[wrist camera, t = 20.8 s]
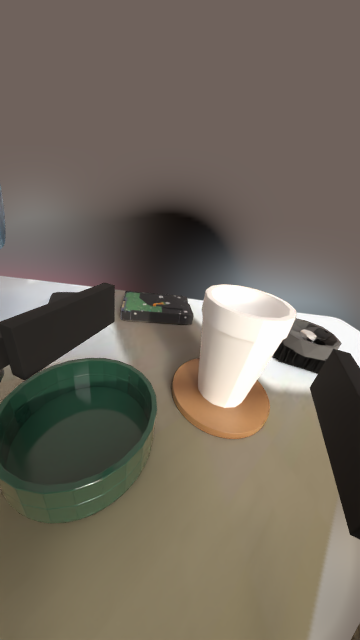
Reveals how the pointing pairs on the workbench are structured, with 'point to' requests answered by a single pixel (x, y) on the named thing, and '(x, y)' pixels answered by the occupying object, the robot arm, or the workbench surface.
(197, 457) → the workbench surface
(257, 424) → the pot holder
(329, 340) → the cpu cooler
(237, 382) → the foam cup
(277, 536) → the workbench surface
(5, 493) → the pot
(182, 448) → the workbench surface
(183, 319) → the disk drive
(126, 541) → the workbench surface
